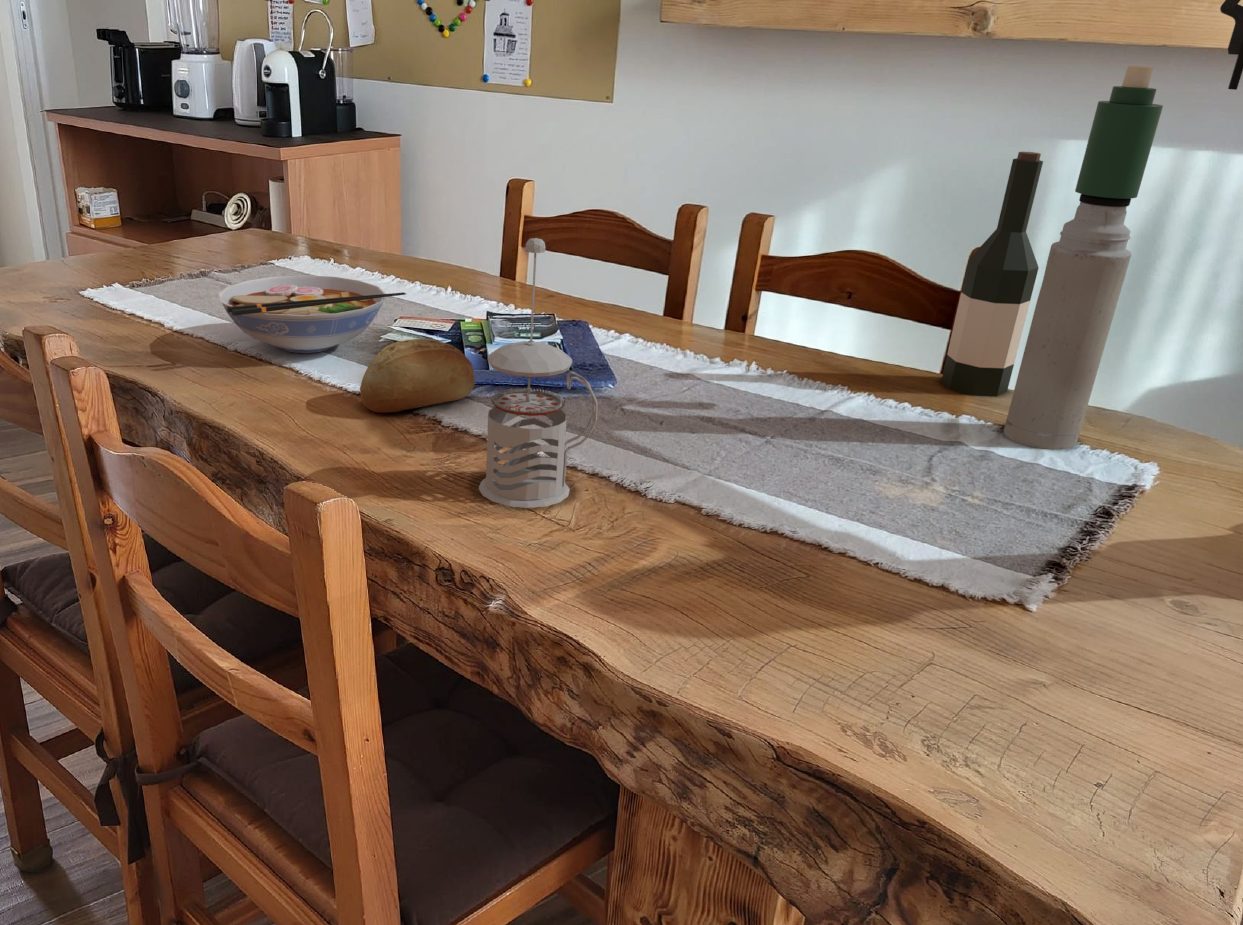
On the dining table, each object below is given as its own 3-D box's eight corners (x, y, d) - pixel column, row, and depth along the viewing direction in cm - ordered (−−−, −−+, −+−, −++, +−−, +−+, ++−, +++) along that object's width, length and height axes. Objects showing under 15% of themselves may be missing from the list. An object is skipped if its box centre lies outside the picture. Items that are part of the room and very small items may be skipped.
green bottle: (1138, 193, 116) (1174, 67, 111) (1135, 200, 112) (1173, 68, 106) (1077, 187, 119) (1110, 63, 113) (1072, 194, 114) (1105, 65, 109)
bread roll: (493, 407, 131) (495, 342, 127) (384, 427, 123) (383, 359, 120) (452, 384, 138) (453, 323, 134) (346, 403, 130) (344, 338, 127)
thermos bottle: (1004, 423, 133) (1065, 186, 120) (1075, 435, 130) (1145, 193, 117) (1001, 444, 126) (1065, 195, 113) (1076, 457, 123) (1150, 203, 111)
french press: (473, 472, 113) (478, 226, 101) (583, 473, 113) (601, 229, 102) (477, 512, 104) (484, 247, 93) (596, 512, 105) (617, 250, 94)
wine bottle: (942, 376, 150) (993, 146, 136) (1006, 385, 147) (1065, 152, 133) (938, 393, 143) (992, 153, 129) (1006, 403, 140) (1068, 159, 126)
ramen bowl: (353, 317, 166) (352, 263, 162) (422, 356, 149) (422, 297, 145) (192, 335, 154) (186, 278, 150) (247, 381, 136) (242, 317, 133)
